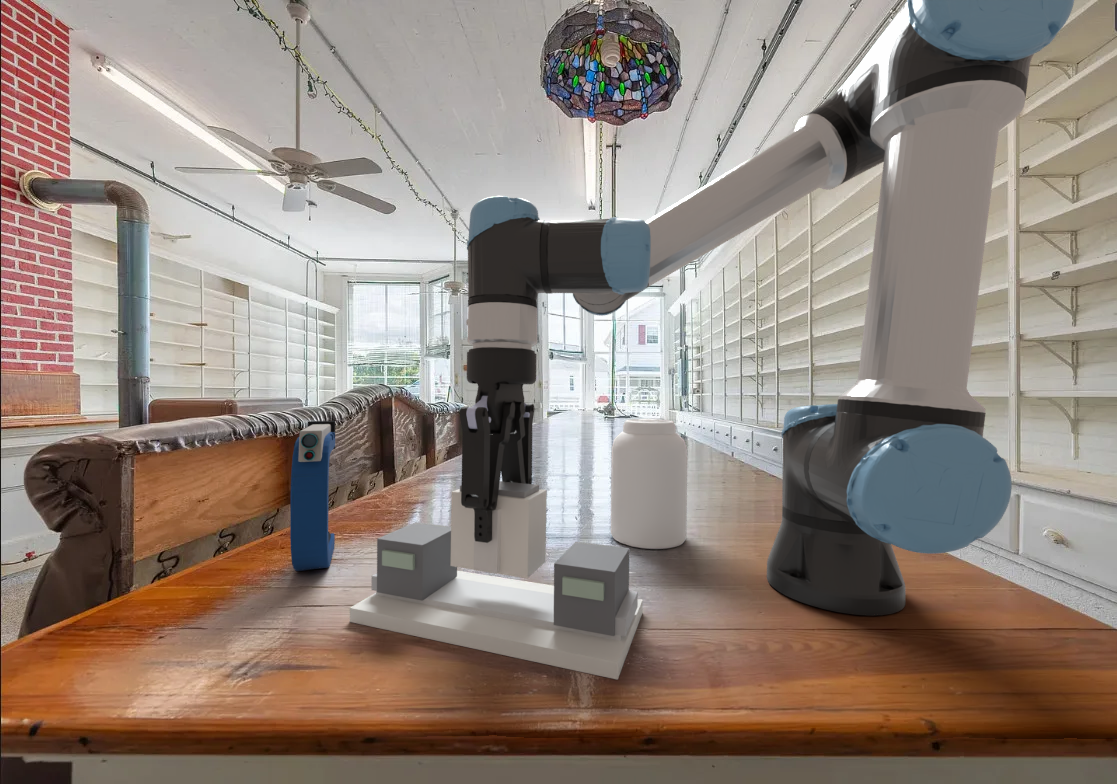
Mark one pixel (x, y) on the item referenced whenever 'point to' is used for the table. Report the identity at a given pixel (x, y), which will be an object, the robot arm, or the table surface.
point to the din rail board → (506, 603)
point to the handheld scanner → (311, 497)
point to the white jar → (649, 485)
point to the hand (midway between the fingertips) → (499, 560)
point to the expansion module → (505, 529)
